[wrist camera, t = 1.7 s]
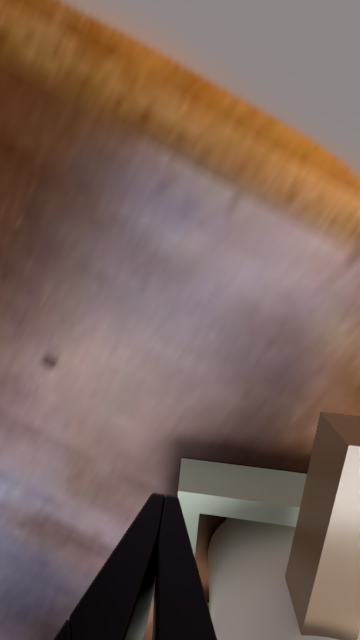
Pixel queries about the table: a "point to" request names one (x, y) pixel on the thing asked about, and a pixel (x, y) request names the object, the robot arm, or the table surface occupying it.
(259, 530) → the saucepan
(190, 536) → the u-shaped frame
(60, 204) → the table surface
